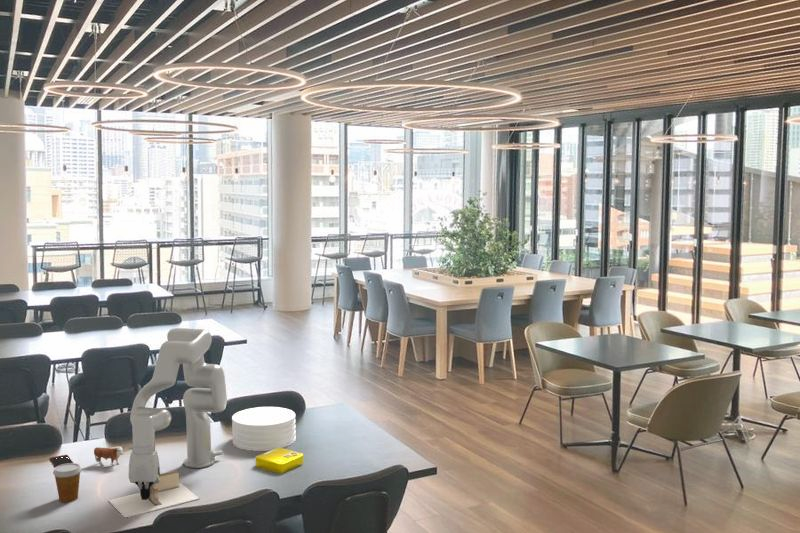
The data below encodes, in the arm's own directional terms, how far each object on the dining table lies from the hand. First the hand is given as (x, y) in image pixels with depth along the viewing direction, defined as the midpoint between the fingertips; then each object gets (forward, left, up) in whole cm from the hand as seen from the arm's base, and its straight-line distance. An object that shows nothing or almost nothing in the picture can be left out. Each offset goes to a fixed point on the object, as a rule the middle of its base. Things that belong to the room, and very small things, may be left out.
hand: (145, 498), depth 283 cm
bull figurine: (-3, -49, -3) cm, 49 cm away
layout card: (-4, -3, -3) cm, 6 cm away
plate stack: (-68, -39, -3) cm, 78 cm away
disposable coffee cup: (+20, -23, -3) cm, 31 cm away
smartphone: (+12, -64, -3) cm, 65 cm away
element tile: (-58, -8, -3) cm, 59 cm away
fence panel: (-3, -3, -2) cm, 5 cm away
